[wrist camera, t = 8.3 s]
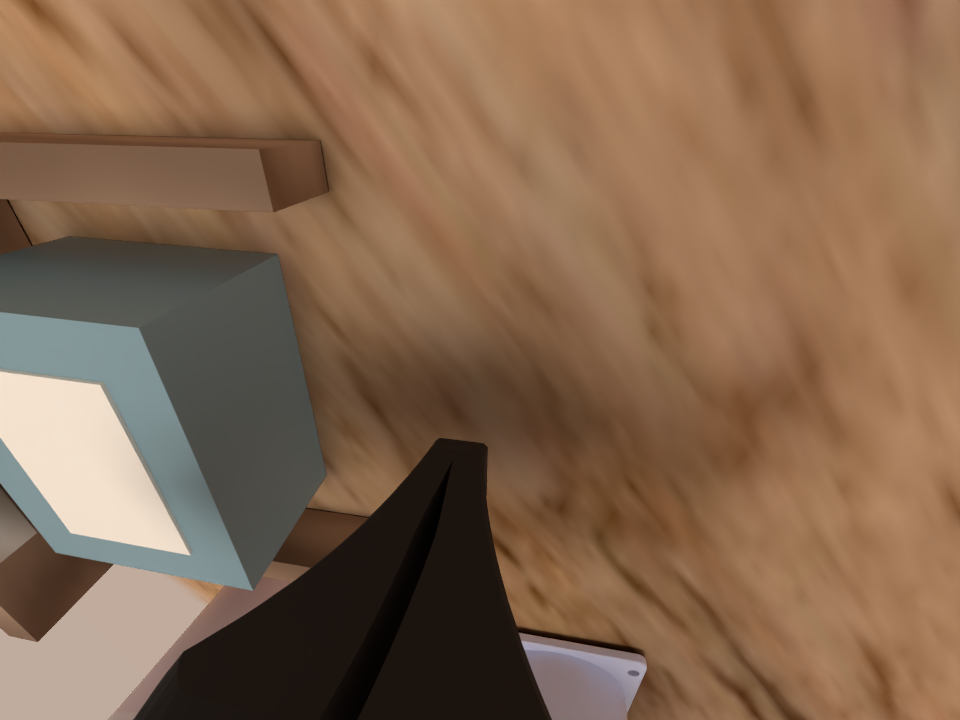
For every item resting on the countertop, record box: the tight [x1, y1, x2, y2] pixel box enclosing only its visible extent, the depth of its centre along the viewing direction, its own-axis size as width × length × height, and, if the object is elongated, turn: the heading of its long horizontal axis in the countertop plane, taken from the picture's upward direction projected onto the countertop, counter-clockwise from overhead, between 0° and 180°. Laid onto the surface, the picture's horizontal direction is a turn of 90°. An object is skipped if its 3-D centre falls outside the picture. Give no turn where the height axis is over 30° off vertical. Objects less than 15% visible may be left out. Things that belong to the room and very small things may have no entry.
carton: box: [0, 236, 327, 591], centre depth 13 cm, size 9×7×5 cm
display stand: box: [0, 133, 368, 642], centre depth 13 cm, size 15×12×6 cm
